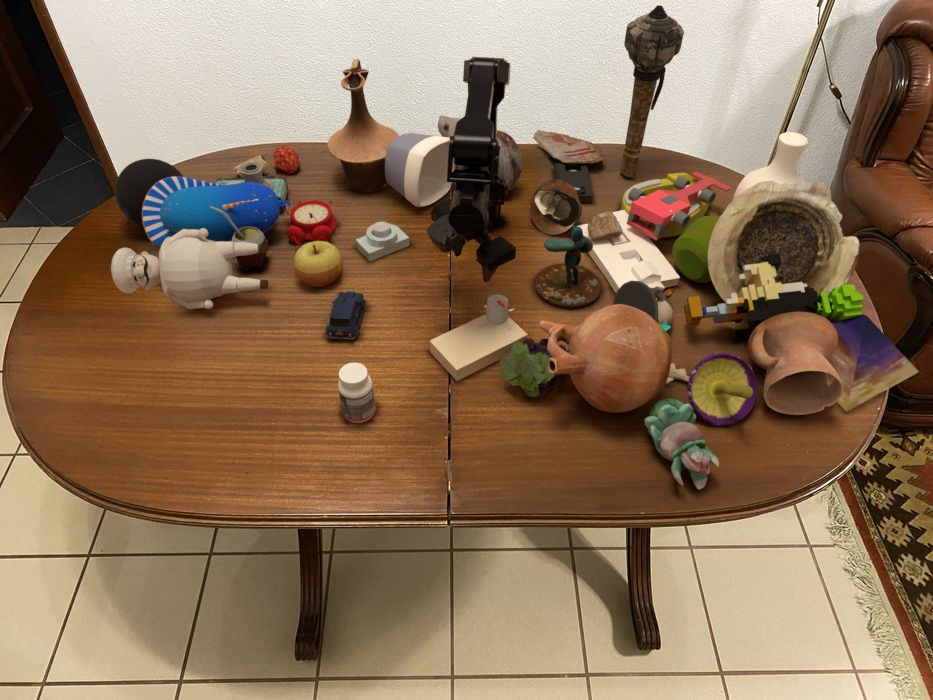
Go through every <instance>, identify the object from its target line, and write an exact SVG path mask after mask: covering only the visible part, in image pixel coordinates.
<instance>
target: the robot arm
mask: <svg viewBox="0 0 933 700" xmlns="http://www.w3.org/2000/svg"><path fill="white" fill-rule="evenodd" d="M510 80H511V63H510V62H508V61H507V60H506V59H505V58H503V57H487V56H485V57H484V56H471V57H470V59H465V60H463V75H462V82H463V83H465V84H467V99H466V106H465V112H464V115H463V117H460V118H461V119H460V120H459V121H458V122H457V123H456V127H455V131H454V136H450V140H449V153H448V169H447V182H452V183H454V182H455V183H456V186H455V189H454V190H453V194H452V198H449V199H447V200H445V201H441V202H440V203H436V204H435V205H433V207H432V208H431V210H430V220H431V221H432V222H433V223H432V224H430V225H429V226H428V227H427V228H426V232H427V235H428V236H429V238H430V240H431V242H432V244H433V245H434V246H436V248H438V249H439V250H440V252H441V253H444V254H447V253H450V252H453V254H454V257H456V258H458V257H460V256H461V255H462V253H463V248H464V247H465V245H466V243H467V242H470V241H472V240H474V241H475V242H476V243H478V245H479V246H478V247H477V249H476V251H475V253H476V254H475V255H476V259H475V261H476V262H477V263H478V264H479V265H480V266H481V271H482V272H481V273H482V274H481V275H482V280H483V283H487V282H490V280H492V278H493V276H494V274H495V273H496V272H497V270H498V268H499V267H500V266H503V265H504V264H506V263H509V262H511V261H513V260H515V259H516V257H517V256H516V255H517V247H516V246H515V245H514V244H513V243H512V242H511V241H509V240H508V239H506V238H505V237H504V236H502V235H498V236H497V237H495V238H494V237H493V236H492V235H490V234H489V233H488V232H489V231H491V230H493V229H494V228H497V227H499V226H501V225H504V224H505V222H506V220H505V219H503V218H502V217H501V216H502V215H501V214H502V206H504V205H505V202H507V201H509V190H508V185H507V184H506V179H503V168H502V167H501V165H500V164H499V158H500V145H499V144H498V141H497V130H498V108H499V107H498V106H499V105H500V104H501V102H502V101H503V100H504V98H505V95H506V88H507V86H510ZM453 158H454V164H455V166H460V168H459V167H458V168H455V169H454V170H453V172H452V167H453Z"/></svg>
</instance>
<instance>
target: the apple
mask: <svg viewBox="0 0 933 700" xmlns="http://www.w3.org/2000/svg"><path fill="white" fill-rule="evenodd" d="M304 244H305V245H301V246H300V247H299V248H298V249H297V250H296V252H295V254H294V256H293V259H292V263H293V264H292V265H293V270H294V273H295V276H297V278H298V279H299V280H300V281H301V282H302V283H304V284H306V285H308V286H312V287H322V286H325V285H326V286H327V285H329V284H331V283H333V282H334V281H336V280H337V279H338V278H339V276H340V274H341V273H342V271H343V269H344V267H343V266H344V265H343V263H344V261H343V256H342V255H343V254H342V253H341V251H340V250H339V249H338V247H337V246H335V245H334V244H332V243H330V242H328V241H327V242H325V241H314V240H312V241H309V242H307V243H304Z"/></svg>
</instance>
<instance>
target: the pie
mask: <svg viewBox="0 0 933 700" xmlns="http://www.w3.org/2000/svg"><path fill="white" fill-rule="evenodd" d="M805 182H806V183H799V182H798V183H794V184H787V183H784V184H781V185H780V184H779V183H775V182H774V181H763V182H759V183H757V184H755V185H753V186H751V187H750V188H748V189H747V190H745V191H744V192H742V193H741V194H740V195H738V196H737V197H736V198H735V199H734V200H733V199H732V200H733V201H731V202H730V203H729V204H728V205H727V206H726V207H725V209H724V211H723V212H722V214H721V215H720V216H719V217H718V218H719V219H718V221H717V222H716V224H715V226H714V228H713V231H712V234H711V237H710V241H709V247H708V268H709V273H710V277H711V282H712V284H713V287H714V289H715V291H716V292H717V294H718V295H719V297H720V298H721V300H722V301H723V302H724V303H725V300H726V299H730V294H731V293H737V298H739V297H738V293H739V292H740V290H741V288H744V287H748V285H745V281H739V279H738V276H739V274H745V272H744V270H743V267H744V265H750V264H759V263H762V262H764V261H765V259H766V258H767V256H768V255H769V254H777V253H780V258H781V262H782V263H781V265H780V266H779V268H778V269H777V270H776V273H777V276H776V278H774V279H775V283H779V282H781V284H788V283H797V282H803V284H807V286H810V288H814V291H817V294H818V295H819V293H820V292H827V296H828V295H829V293H830V292H831V291H832V290H833V289H834V287H840V286H841V285H842V284H848V285H849V283H850V281H851V279H852V277H853V276H854V273H855V270H856V268H857V265H858V261H859V257H860V254H861V243H860V239H859V238H858V237H857V236H852V235H850V236H849V235H848V236H844V233H843V229H842V227H841V224H840V223H841V221H842V219H843V214H842V213H841V212H840V211H839V208H838V206H837V205H836V204H835V202H834V201H833V200H832V194H831V188H830V186H829V185H828V184H826V183H824V182H822V181H818V180H816V181H814V180H813V181H812V180H811V181H805Z"/></svg>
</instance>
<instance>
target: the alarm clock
mask: <svg viewBox="0 0 933 700" xmlns="http://www.w3.org/2000/svg"><path fill="white" fill-rule="evenodd" d="M331 203H333V201H332V200H329V202H328V203H326V202H324V201H321V200H307V201H303V202H301V200H298V204H296V205H295V206H293V212H292V211H291V210H290V212H289V219H290V223H289V226H288V228H287V229H286V236H287V238H288V240H289V241H290V242H292V243H294V244H297V245H300V246H303V245H305V244H306V243H303V242H305V241H325V242H328V241H329V240H330V239H331V238H332V234H333V233H334V232H335V231H336V229H337V226H338V224H337V219H336V218H335V216H334V214H333V209H332V208H331V206H330V204H331Z"/></svg>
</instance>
